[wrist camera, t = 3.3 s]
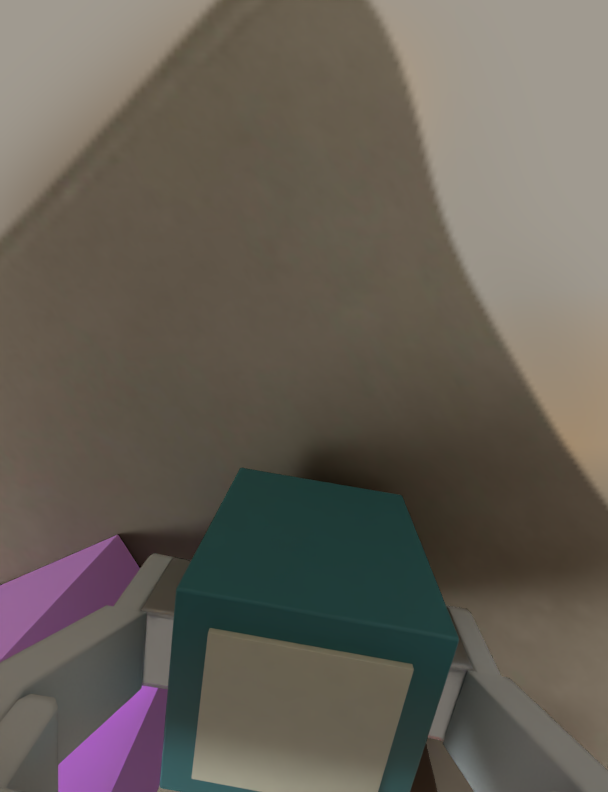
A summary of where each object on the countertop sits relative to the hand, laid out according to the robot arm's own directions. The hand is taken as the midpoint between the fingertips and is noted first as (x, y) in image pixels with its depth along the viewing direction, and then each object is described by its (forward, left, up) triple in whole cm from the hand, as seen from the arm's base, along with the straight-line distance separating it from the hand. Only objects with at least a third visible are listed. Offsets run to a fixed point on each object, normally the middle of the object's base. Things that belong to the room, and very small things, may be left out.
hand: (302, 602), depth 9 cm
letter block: (0, 0, -2) cm, 2 cm away
